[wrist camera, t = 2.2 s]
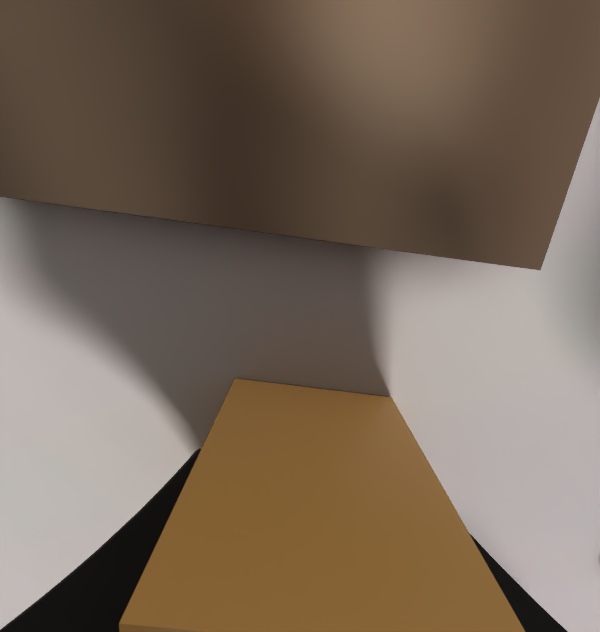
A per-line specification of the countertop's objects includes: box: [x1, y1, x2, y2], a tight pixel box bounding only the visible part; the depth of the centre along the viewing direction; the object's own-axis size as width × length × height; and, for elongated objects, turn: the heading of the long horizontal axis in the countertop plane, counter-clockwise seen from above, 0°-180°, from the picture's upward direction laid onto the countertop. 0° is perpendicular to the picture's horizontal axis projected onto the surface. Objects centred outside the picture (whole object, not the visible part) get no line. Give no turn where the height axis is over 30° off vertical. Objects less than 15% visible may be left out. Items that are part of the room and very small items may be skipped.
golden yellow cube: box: [119, 378, 525, 632], centre depth 7 cm, size 5×5×6 cm
